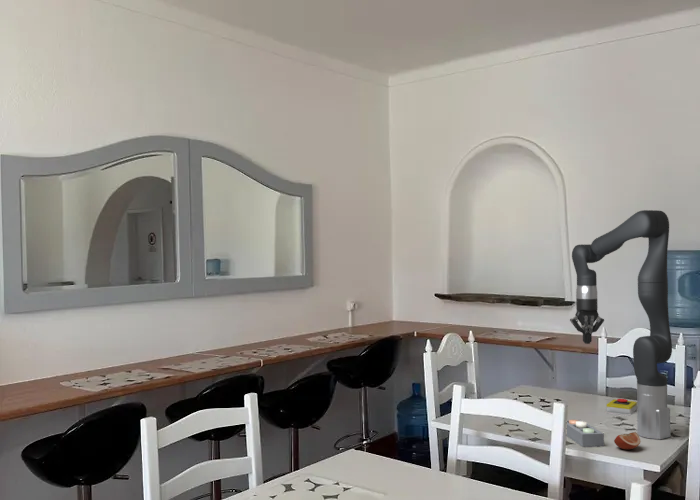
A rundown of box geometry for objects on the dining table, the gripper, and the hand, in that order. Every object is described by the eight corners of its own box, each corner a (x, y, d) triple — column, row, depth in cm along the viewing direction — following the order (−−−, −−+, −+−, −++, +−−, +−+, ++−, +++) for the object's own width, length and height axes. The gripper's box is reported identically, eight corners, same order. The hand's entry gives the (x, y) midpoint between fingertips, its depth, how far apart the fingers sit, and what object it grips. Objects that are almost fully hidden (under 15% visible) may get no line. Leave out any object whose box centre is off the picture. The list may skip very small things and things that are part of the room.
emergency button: (638, 398, 263) (629, 405, 251) (638, 409, 263) (629, 417, 251) (614, 395, 268) (603, 402, 256) (614, 406, 268) (604, 414, 256)
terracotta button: (567, 425, 228) (567, 419, 228) (577, 425, 229) (577, 419, 229) (571, 428, 225) (571, 422, 225) (581, 428, 225) (581, 421, 225)
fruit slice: (627, 444, 214) (627, 429, 214) (646, 450, 209) (645, 433, 209) (609, 448, 210) (609, 432, 210) (627, 454, 204) (627, 437, 204)
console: (560, 431, 230) (560, 420, 230) (580, 431, 230) (580, 419, 230) (582, 446, 212) (582, 434, 212) (603, 446, 213) (603, 433, 213)
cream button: (574, 427, 223) (574, 420, 223) (584, 426, 223) (583, 420, 223) (578, 430, 219) (578, 423, 219) (588, 429, 220) (588, 423, 220)
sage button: (581, 434, 217) (581, 428, 217) (591, 434, 218) (591, 427, 218) (585, 437, 214) (585, 431, 214) (596, 437, 214) (595, 430, 214)
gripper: (573, 298, 248) (574, 345, 248) (608, 297, 249) (608, 344, 249) (565, 297, 256) (566, 342, 256) (599, 296, 257) (599, 341, 257)
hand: (587, 343), depth 252 cm, fingers closed
